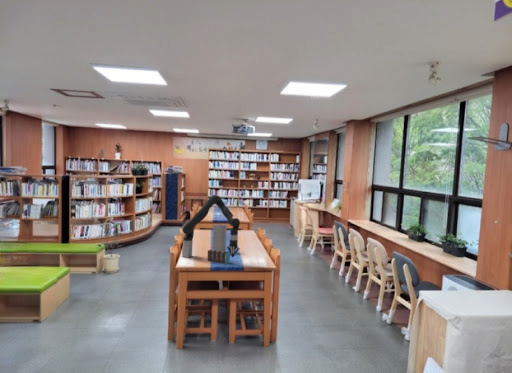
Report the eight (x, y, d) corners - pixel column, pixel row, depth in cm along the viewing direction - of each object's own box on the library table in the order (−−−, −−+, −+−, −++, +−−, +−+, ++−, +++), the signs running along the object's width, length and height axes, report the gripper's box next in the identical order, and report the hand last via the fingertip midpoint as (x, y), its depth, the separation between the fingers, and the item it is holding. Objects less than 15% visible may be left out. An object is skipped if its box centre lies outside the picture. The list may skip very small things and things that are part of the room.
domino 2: (211, 261, 305) (212, 251, 304) (214, 260, 309) (214, 250, 309) (213, 261, 304) (213, 251, 303) (216, 260, 309) (216, 250, 308)
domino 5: (225, 263, 299) (225, 253, 299) (227, 262, 304) (228, 252, 303) (227, 264, 298) (227, 253, 298) (229, 262, 303) (229, 252, 302)
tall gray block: (212, 253, 334) (213, 225, 332) (212, 251, 339) (213, 224, 338) (225, 252, 337) (226, 225, 336) (225, 251, 343) (226, 224, 341)
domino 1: (207, 260, 307) (207, 250, 306) (209, 259, 311) (210, 249, 311) (209, 261, 306) (209, 251, 305) (211, 259, 310) (212, 249, 310)
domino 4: (220, 263, 301) (221, 252, 300) (223, 261, 306) (223, 251, 305) (222, 263, 300) (222, 253, 300) (224, 262, 305) (225, 252, 304)
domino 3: (216, 262, 303) (216, 252, 302) (218, 260, 307) (219, 251, 307) (218, 262, 302) (218, 252, 301) (220, 261, 307) (220, 251, 306)
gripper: (241, 239, 298) (240, 257, 299) (229, 237, 303) (228, 254, 304) (238, 240, 291) (237, 258, 292) (225, 238, 296) (225, 256, 297)
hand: (232, 256), depth 298 cm, fingers closed
